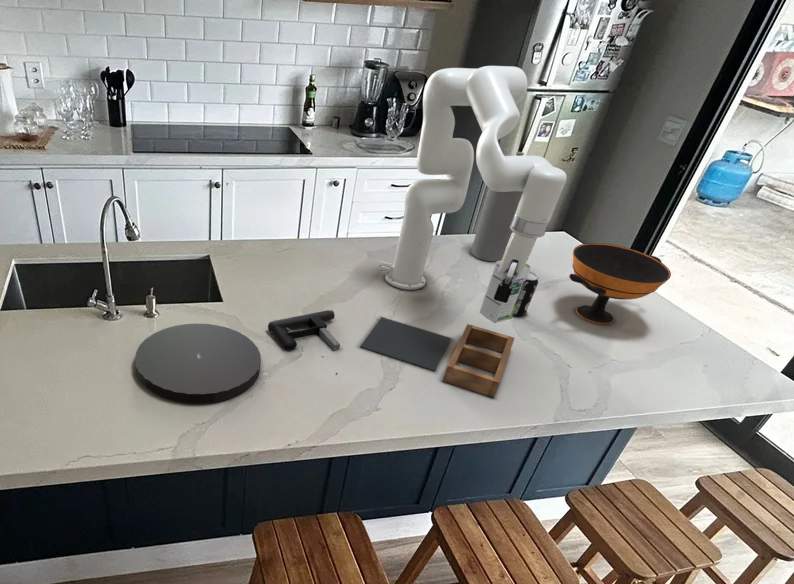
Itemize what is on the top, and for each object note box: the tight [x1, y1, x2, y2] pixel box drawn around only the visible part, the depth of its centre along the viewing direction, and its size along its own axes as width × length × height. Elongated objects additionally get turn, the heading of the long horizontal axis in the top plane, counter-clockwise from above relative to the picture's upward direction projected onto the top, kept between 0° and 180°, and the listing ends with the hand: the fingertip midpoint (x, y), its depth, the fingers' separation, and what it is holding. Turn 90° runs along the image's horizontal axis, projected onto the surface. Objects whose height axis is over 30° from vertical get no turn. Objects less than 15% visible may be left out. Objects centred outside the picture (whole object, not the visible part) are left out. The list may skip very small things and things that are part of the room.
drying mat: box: [359, 316, 452, 372], centre depth 154 cm, size 20×18×1 cm
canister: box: [470, 151, 525, 262], centre depth 192 cm, size 13×13×35 cm
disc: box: [134, 323, 262, 404], centre depth 138 cm, size 30×30×3 cm
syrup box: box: [479, 259, 531, 324], centre depth 140 cm, size 6×6×14 cm
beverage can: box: [513, 270, 539, 317], centre depth 168 cm, size 7×7×12 cm
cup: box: [569, 242, 672, 325], centre depth 168 cm, size 36×26×18 cm
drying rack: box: [442, 323, 515, 398], centre depth 146 cm, size 12×24×4 cm, turn 152°
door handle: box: [267, 309, 341, 351], centre depth 152 cm, size 3×20×16 cm
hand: (503, 293), depth 140 cm, fingers closed on syrup box, 7 cm apart
